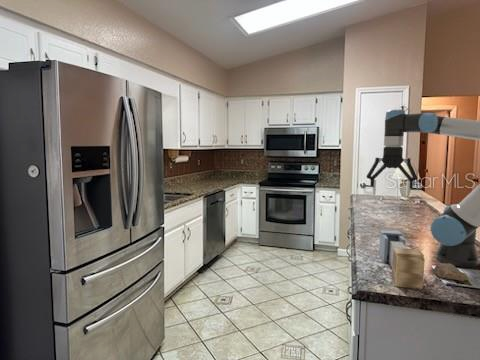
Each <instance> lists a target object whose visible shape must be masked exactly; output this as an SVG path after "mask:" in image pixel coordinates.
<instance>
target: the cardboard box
mask: <svg viewBox="0 0 480 360" xmlns="http://www.w3.org/2000/svg"><path fill="white" fill-rule="evenodd" d="M424 257H425V255H424V253H423V252H421V250H420V249H416V248H415V249H414V248H407V249H404V248H393V263H392V267H391V280H392V282H393V283H394V285H395V287H402V288H409V289H410V288H412V289H422V290H423V288H424V276H425V258H424Z"/></svg>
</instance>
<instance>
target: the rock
mask: <svg viewBox="0 0 480 360" xmlns="http://www.w3.org/2000/svg"><path fill="white" fill-rule="evenodd" d="M432 271H433V272H434V273H435V274H436V277H437V278H443V279H448V280H453V281H454V280H456V281H460V282H464V281H469V280H470V278H469V276H468V274H466V273H465V272H462V271H460V269H458V268H457V267H456V266H455V265H452V264H450V263H448V264H446V263H444V262H441V263H438V264H436V266H435V267H434V268H433V269H432Z"/></svg>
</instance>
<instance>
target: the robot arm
mask: <svg viewBox="0 0 480 360" xmlns="http://www.w3.org/2000/svg"><path fill="white" fill-rule="evenodd" d="M384 118H385V119H384V138H383V139H384V140H383V146H384V147H383V155H382V158H381V157H375V159H374V162H373V164H372V165H371V168H370V169H369V172H367V175H366V178H367V179H369V180H370V188H372V195H373V196H376V188H377V187H376V186H377V185H376V184H377V180H376V178H378V176H379V175H380V174H381V173H382V172H383V171H384V170H385V169H386V168H387V169H397V168H398V169H399V170H400V172H402V175H404V176H405V178H407V180H406V185H405V196H406V197H410V190H411V189H413V182H414V181H418V179H419V178H418V176H417V174H416V171H415V169H414V167H413V165H412V162H411V161H412V160H411V158H409V157H406V158H403V153H404V151H403V149H404V148H403V147H402V146H404V135H405V133H426V134H433V135H441V136H446V137H447V136H448V137H454V138H461V139H467V140H473V141H480V120H476V119H465V118H459V117H448V116H441V115H437V114H436V113H434V112H423V113H406V110H404V109H389V110H387V111H386V112H385V117H384ZM381 161H382V163H383V164H382V165H381V166H380V167H379V168H378V169H377V170H376V168H377V167H378V165H379V163H381ZM402 163H405V164H406V166H407V168H408V170H409V172H410V174H409V173H408V172H407V170H406V169H405V168H404V167H403V165H402ZM375 170H376V172H375ZM478 228H480V183H479V184H478V185H476V187H475V188H473V190H472V191H470V192H469V193H468V194H467V195H466V196H465V197H464V198H463V199H462V200H461V201H460V202H459V203H455V204H454V203H453V204H451V205H446V206H444V210H443V212H442V213H441V214H440V215H439V216H437V217H435V218H434V219H433V221H432V222H431V224H430V232H431V235H432V237H433V239H434V240H435V241H436V242H438V243H440V244H439V246H438V248H437V250H436V253H435V254H436V255H435V259H436V260H437V261H440V262H441V263H446V264H448V263H450V264H452V265H454V266H455V267H456V266H457V267H462V268H475V267H477V266H479V264H480V262H479V261H480V259H479V255H478V253H477V248H476V236H477V229H478Z"/></svg>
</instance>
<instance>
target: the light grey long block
mask: <svg viewBox="0 0 480 360" xmlns="http://www.w3.org/2000/svg"><path fill="white" fill-rule="evenodd" d="M393 248H404V249H408V247H407V246H406V244H405V245H404V244H403V243H402V242H395V241H390V249H389V255H388V263H389V265H390V267H391V268H392V263H393Z"/></svg>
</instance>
